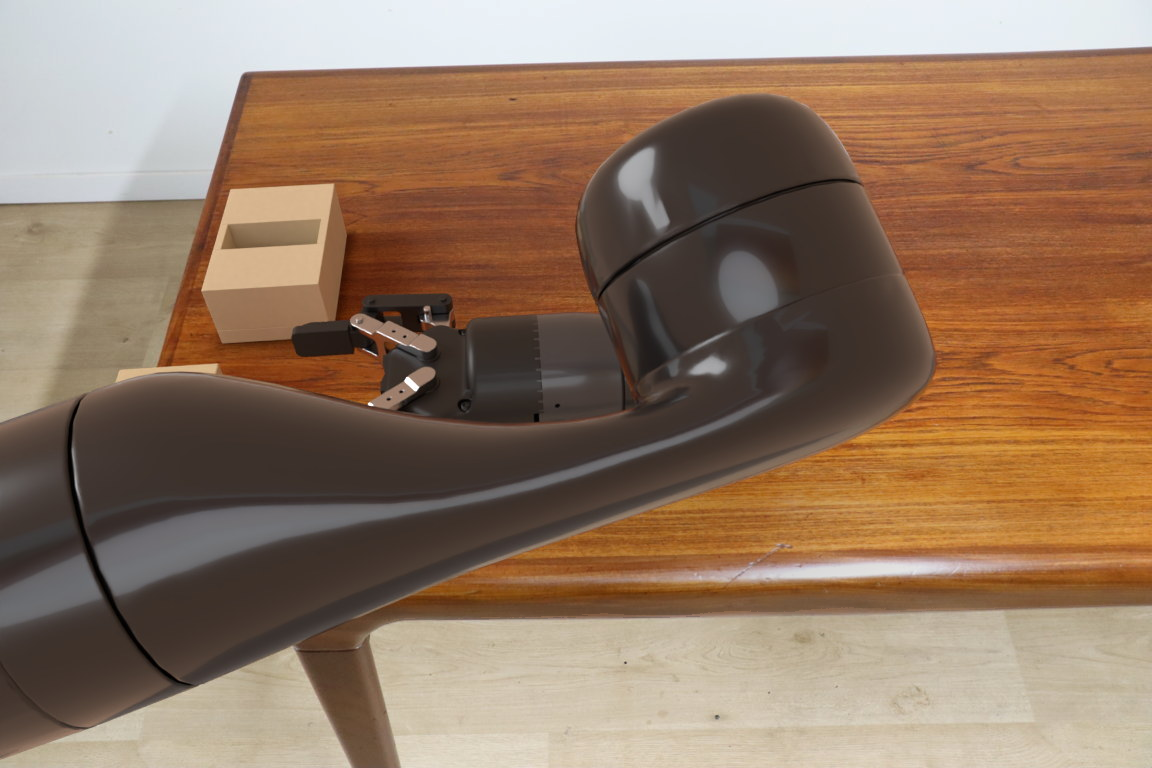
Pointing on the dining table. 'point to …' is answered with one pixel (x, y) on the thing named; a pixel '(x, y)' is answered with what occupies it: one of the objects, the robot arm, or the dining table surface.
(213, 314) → the tan slotted wooden block
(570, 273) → the dining table surface
